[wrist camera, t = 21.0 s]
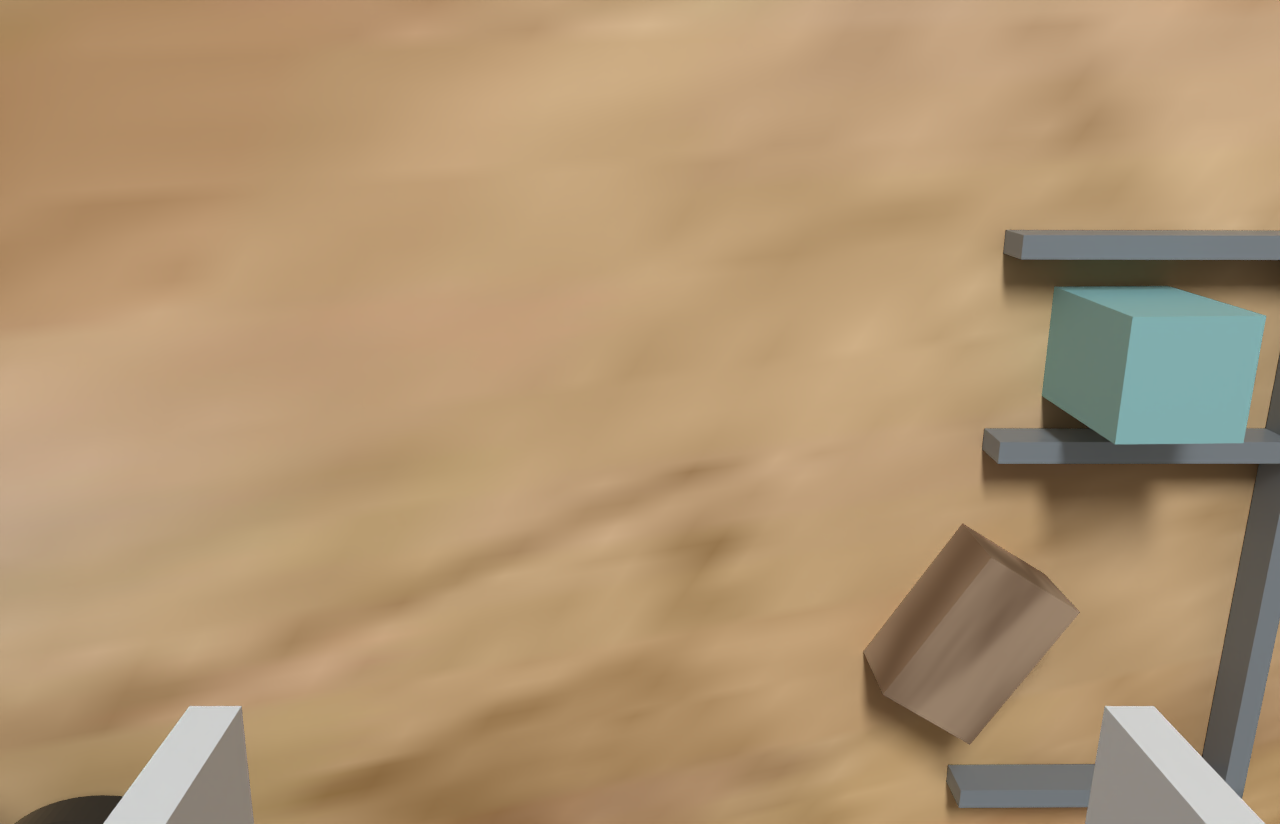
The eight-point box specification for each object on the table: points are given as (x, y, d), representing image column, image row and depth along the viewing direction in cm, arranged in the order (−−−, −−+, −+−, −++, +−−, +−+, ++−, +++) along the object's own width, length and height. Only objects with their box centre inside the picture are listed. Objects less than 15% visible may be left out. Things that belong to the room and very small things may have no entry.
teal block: (1041, 395, 45) (1115, 444, 38) (1054, 286, 43) (1132, 316, 36) (1150, 394, 45) (1243, 443, 38) (1166, 285, 43) (1266, 315, 37)
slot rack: (946, 781, 50) (958, 807, 48) (1005, 230, 42) (1023, 235, 40) (1217, 780, 50) (1240, 806, 49) (1326, 230, 43) (1359, 235, 41)
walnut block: (942, 695, 49) (862, 649, 48) (1043, 572, 47) (961, 521, 47) (969, 744, 45) (882, 694, 45) (1080, 612, 44) (991, 557, 43)
